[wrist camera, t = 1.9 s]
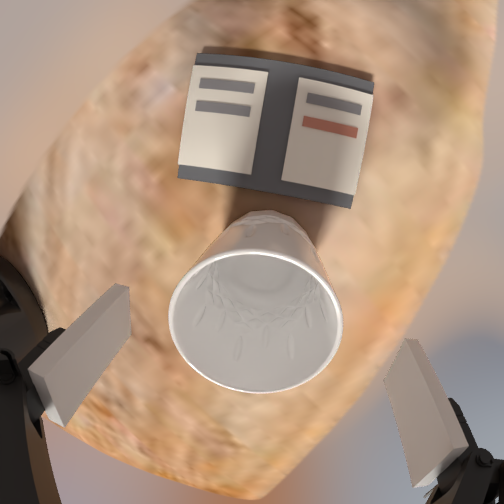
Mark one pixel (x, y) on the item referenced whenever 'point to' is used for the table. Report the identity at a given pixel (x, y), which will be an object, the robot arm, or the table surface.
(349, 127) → the label board
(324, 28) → the table surface
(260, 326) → the white cup
